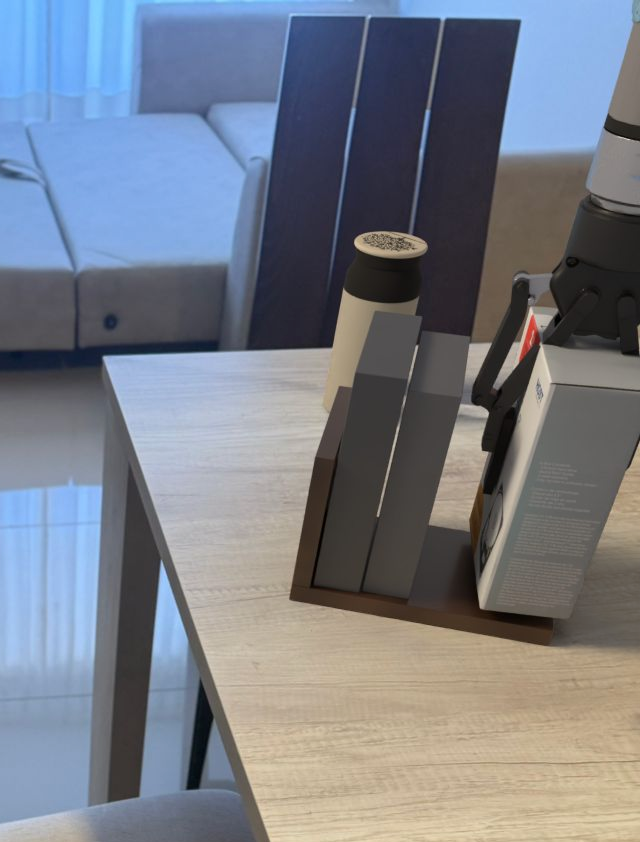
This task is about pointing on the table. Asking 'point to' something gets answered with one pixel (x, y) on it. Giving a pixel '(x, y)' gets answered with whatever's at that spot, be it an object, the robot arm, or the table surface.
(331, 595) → the book rack
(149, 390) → the table surface
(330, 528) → the grey books
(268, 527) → the table surface
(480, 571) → the hard drive box
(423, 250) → the travel mug
